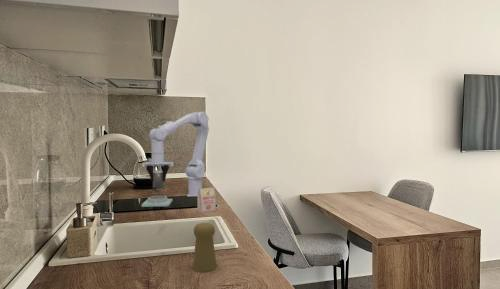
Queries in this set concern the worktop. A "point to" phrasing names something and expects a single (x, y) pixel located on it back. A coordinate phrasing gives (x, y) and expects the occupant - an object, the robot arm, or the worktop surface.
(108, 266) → the worktop surface
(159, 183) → the lens barrel
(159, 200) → the collar mount
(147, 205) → the plate
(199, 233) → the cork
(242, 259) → the worktop surface
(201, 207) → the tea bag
